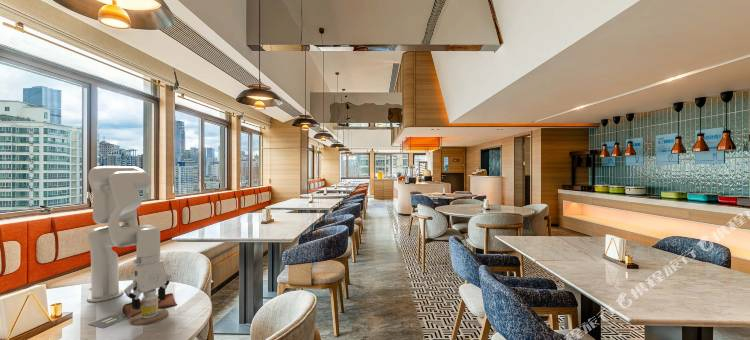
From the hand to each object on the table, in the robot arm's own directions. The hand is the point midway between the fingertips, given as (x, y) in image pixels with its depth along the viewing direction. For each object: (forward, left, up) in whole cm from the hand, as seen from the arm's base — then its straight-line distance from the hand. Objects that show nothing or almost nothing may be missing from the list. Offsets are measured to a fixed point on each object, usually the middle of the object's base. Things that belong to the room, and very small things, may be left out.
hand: (149, 303), depth 125 cm
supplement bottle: (0, 0, -5) cm, 5 cm away
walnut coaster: (0, 0, -5) cm, 5 cm away
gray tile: (-12, -7, -5) cm, 15 cm away
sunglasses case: (-8, +6, -6) cm, 12 cm away
